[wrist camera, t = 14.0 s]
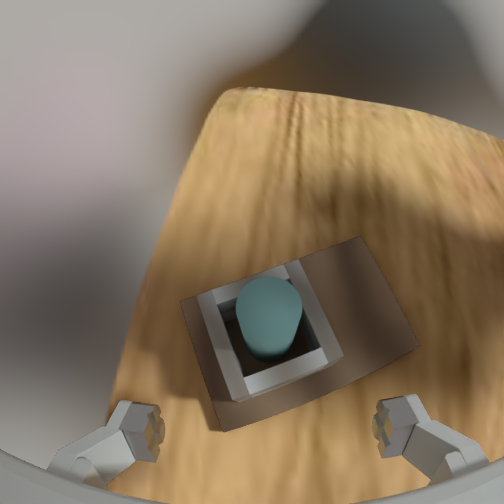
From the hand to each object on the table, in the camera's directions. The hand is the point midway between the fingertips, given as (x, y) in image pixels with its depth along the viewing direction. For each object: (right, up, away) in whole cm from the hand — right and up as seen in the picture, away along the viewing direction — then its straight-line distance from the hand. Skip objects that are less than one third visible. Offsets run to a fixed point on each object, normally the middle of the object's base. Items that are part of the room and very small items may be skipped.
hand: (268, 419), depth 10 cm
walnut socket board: (+4, -1, +17) cm, 17 cm away
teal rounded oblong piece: (+1, -1, +15) cm, 15 cm away
